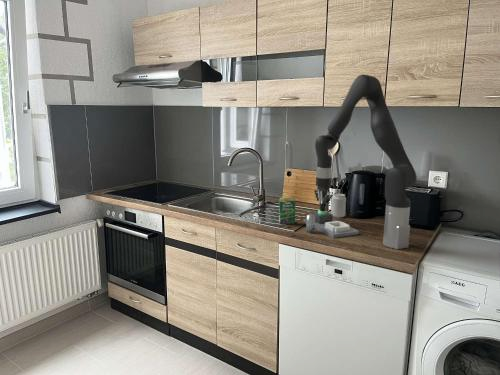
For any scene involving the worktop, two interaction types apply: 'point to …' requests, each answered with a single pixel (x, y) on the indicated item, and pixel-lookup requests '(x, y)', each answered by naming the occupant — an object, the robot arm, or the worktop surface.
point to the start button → (322, 212)
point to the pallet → (332, 226)
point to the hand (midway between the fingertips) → (322, 210)
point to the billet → (310, 223)
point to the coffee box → (287, 210)
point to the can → (338, 205)
